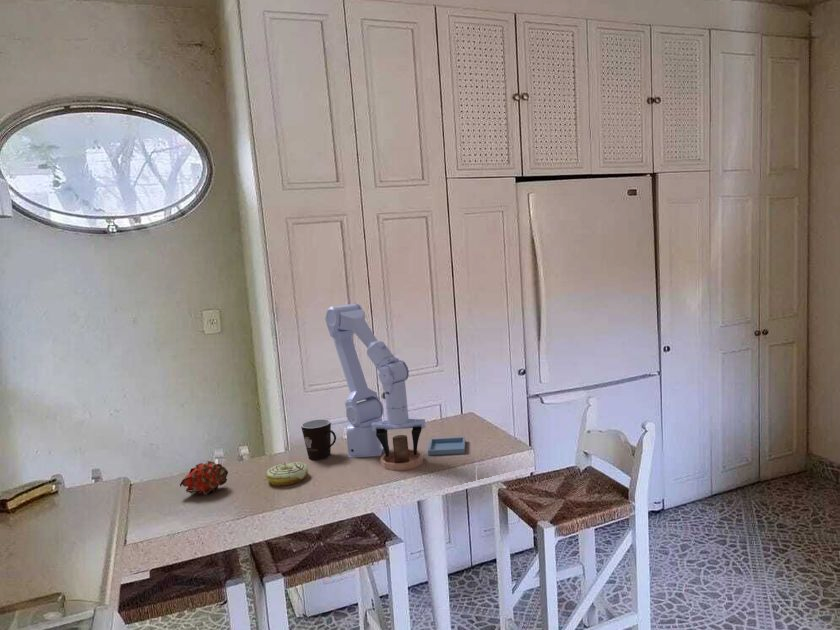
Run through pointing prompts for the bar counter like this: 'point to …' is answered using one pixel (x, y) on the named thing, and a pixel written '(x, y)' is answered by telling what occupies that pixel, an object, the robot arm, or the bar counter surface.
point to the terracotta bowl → (391, 465)
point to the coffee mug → (318, 438)
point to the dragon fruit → (205, 478)
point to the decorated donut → (287, 473)
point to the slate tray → (446, 446)
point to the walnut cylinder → (400, 449)
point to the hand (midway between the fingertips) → (401, 454)
